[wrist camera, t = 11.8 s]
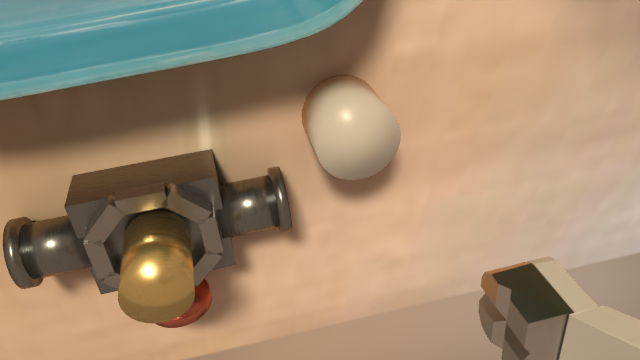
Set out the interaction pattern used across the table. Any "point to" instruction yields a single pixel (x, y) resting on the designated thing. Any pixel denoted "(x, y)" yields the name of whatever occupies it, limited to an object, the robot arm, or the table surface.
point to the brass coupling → (156, 268)
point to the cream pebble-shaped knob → (350, 128)
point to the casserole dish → (142, 36)
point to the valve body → (139, 198)
